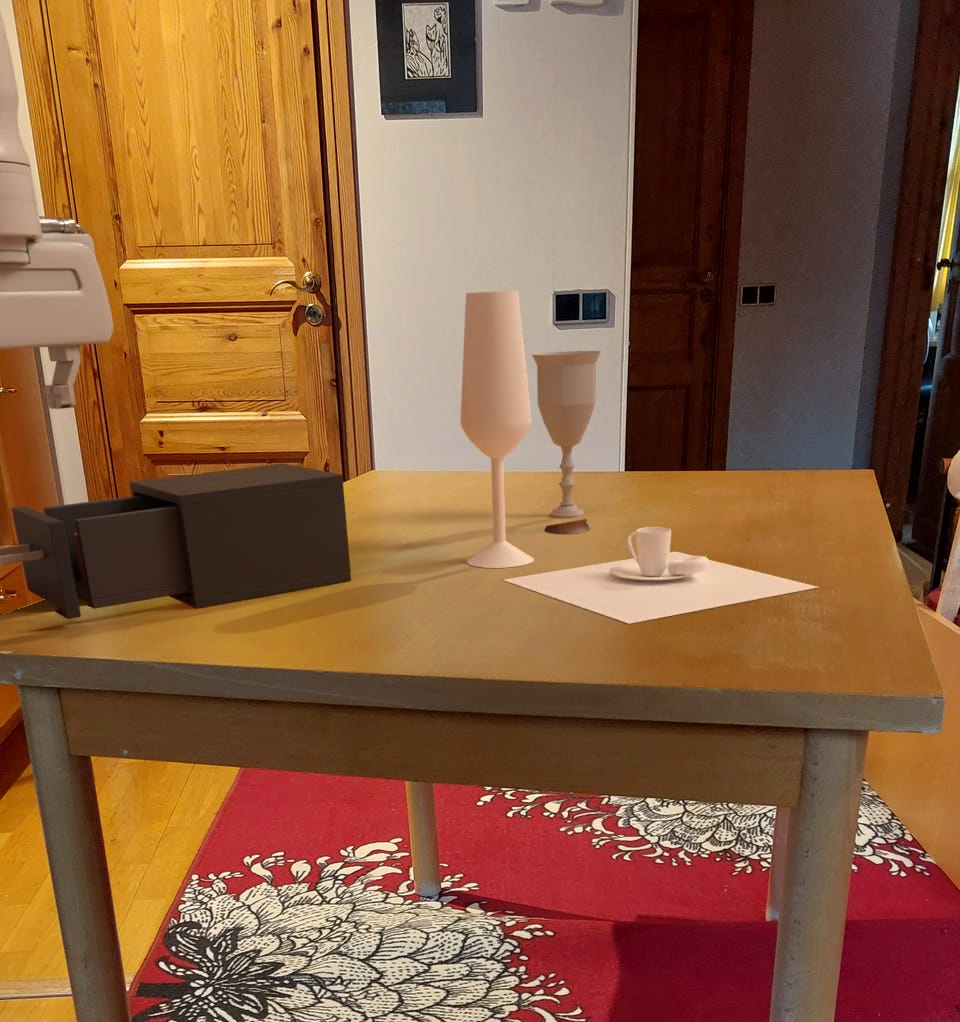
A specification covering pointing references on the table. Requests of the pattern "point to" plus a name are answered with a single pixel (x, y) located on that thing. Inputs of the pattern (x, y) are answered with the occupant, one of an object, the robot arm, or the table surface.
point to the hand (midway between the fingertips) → (13, 413)
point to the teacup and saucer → (656, 582)
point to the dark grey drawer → (101, 552)
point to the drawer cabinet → (257, 530)
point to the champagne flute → (495, 402)
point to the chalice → (566, 418)
